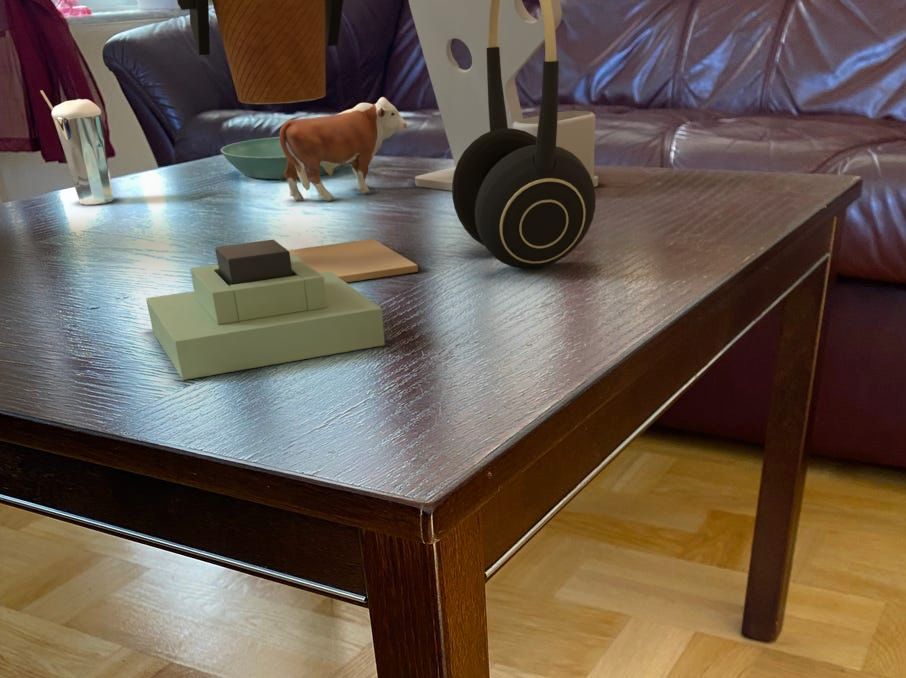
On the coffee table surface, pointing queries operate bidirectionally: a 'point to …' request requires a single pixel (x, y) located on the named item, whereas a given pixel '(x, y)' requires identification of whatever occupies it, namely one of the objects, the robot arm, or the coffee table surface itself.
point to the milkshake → (84, 148)
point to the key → (253, 262)
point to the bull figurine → (336, 144)
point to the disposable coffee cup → (274, 48)
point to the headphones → (523, 174)
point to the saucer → (260, 158)
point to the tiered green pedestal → (262, 321)
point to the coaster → (356, 260)
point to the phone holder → (466, 91)
